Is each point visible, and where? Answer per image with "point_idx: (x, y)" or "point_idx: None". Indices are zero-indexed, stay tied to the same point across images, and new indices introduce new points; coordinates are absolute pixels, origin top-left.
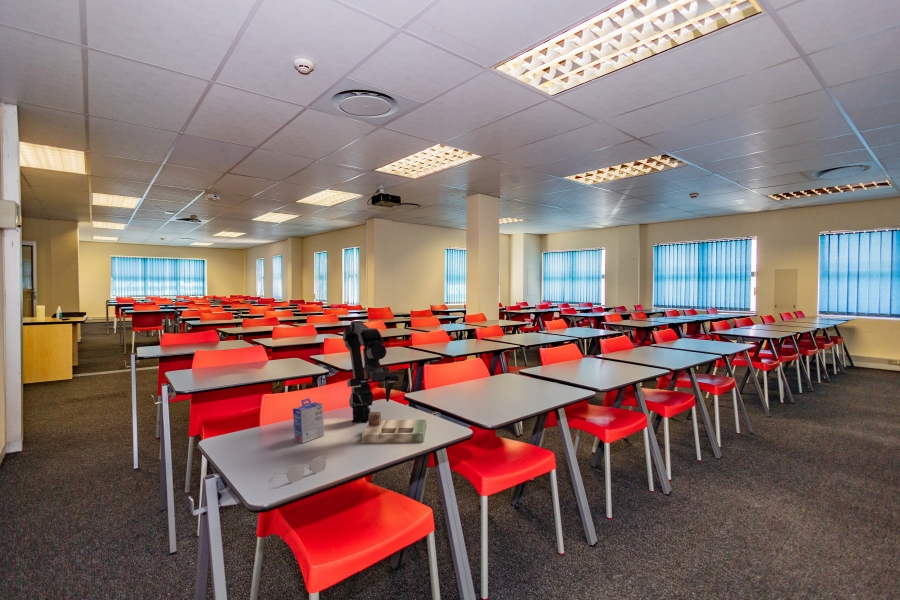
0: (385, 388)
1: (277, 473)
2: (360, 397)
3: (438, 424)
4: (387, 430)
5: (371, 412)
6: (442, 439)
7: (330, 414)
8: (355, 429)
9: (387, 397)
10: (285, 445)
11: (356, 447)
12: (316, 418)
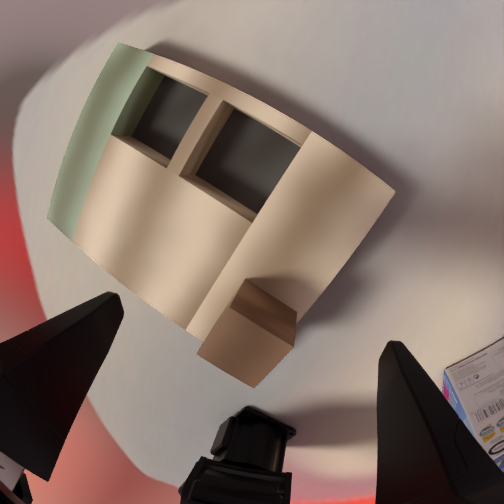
0: (61, 435)
1: None
2: (452, 412)
3: (39, 212)
4: (226, 202)
5: (250, 380)
6: (83, 58)
7: (311, 490)
8: (322, 372)
9: (88, 313)
10: None
11: (422, 152)
12: (498, 406)
